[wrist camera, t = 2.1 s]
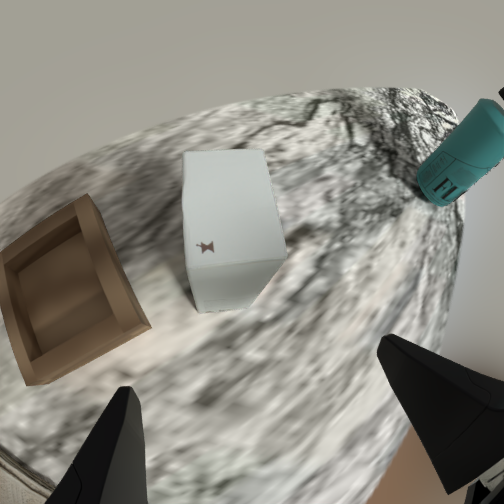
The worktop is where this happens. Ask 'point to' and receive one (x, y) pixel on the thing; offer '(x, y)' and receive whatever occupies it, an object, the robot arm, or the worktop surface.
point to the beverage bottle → (464, 154)
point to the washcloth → (21, 484)
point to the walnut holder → (66, 294)
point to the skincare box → (229, 227)
